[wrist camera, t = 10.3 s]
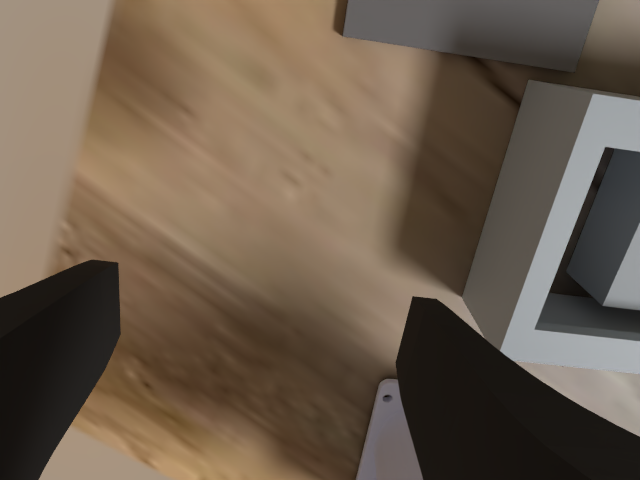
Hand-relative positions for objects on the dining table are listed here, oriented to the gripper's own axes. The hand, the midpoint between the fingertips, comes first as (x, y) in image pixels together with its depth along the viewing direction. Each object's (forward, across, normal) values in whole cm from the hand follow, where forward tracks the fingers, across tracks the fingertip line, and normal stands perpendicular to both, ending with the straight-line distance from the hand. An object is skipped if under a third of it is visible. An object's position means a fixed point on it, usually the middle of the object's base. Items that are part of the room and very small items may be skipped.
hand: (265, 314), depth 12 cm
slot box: (+9, -16, -1) cm, 19 cm away
